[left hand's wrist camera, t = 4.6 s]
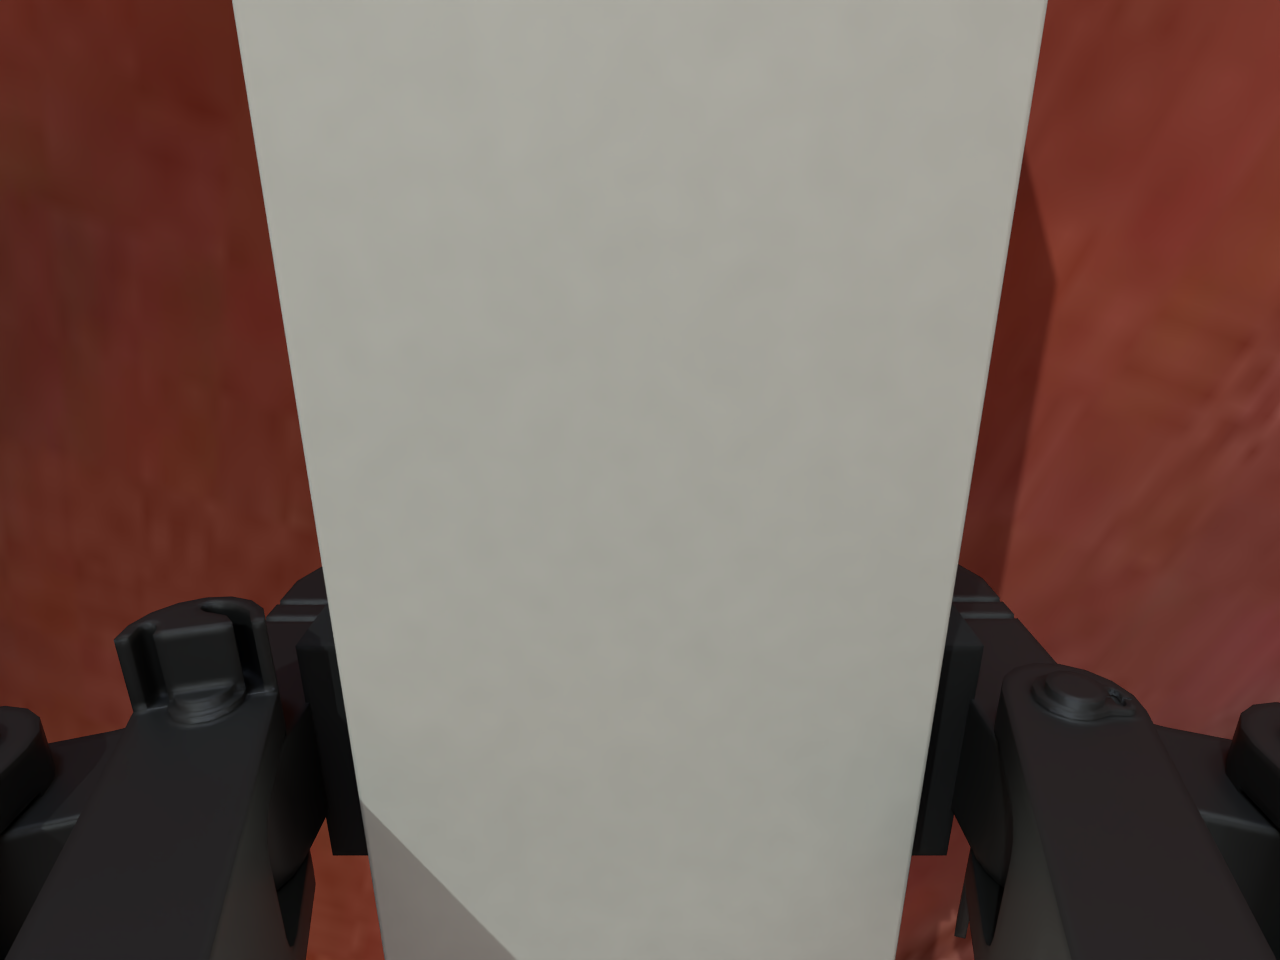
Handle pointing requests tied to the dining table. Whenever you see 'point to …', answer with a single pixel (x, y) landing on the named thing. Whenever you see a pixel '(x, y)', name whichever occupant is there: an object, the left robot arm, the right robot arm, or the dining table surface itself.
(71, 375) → the dining table surface
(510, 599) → the bar
